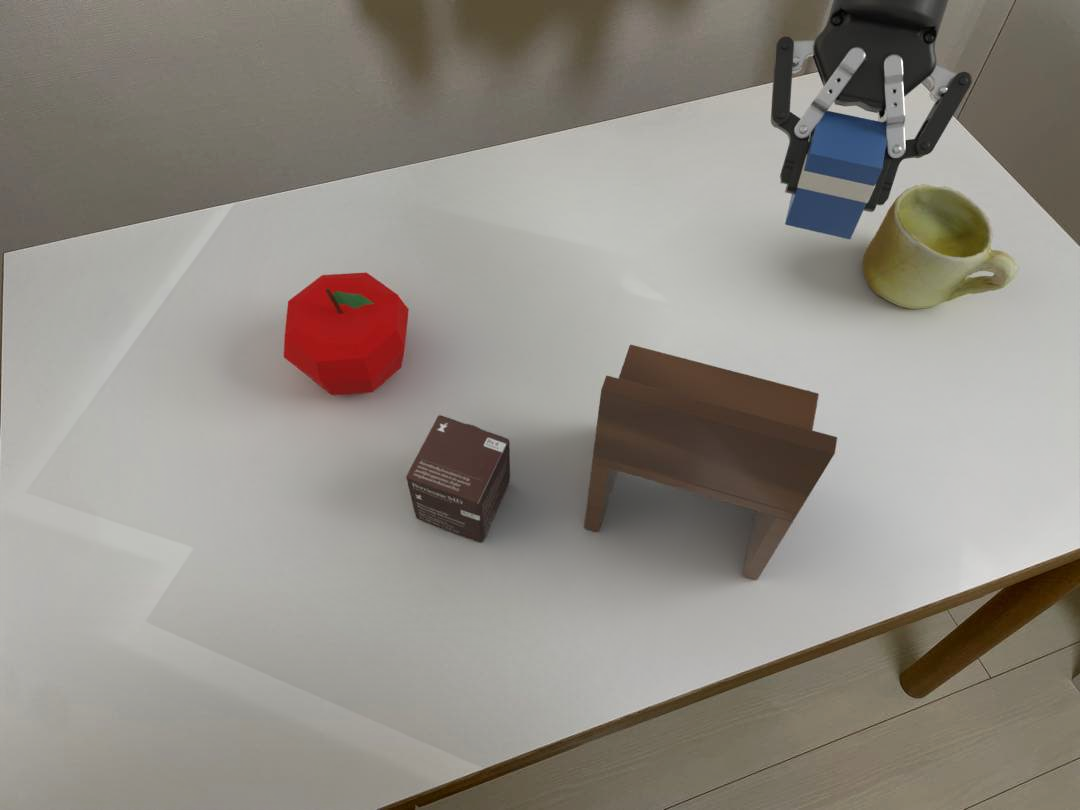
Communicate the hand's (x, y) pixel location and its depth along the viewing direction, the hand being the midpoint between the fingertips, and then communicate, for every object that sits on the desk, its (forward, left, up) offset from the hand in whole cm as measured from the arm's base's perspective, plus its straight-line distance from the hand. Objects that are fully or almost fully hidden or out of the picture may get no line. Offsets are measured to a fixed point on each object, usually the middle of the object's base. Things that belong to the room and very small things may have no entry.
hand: (829, 200), depth 63 cm
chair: (+16, +10, -18) cm, 26 cm away
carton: (-1, -1, -3) cm, 3 cm away
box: (+32, +2, -18) cm, 37 cm away
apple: (+35, -15, -18) cm, 42 cm away
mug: (-17, +1, -18) cm, 25 cm away
